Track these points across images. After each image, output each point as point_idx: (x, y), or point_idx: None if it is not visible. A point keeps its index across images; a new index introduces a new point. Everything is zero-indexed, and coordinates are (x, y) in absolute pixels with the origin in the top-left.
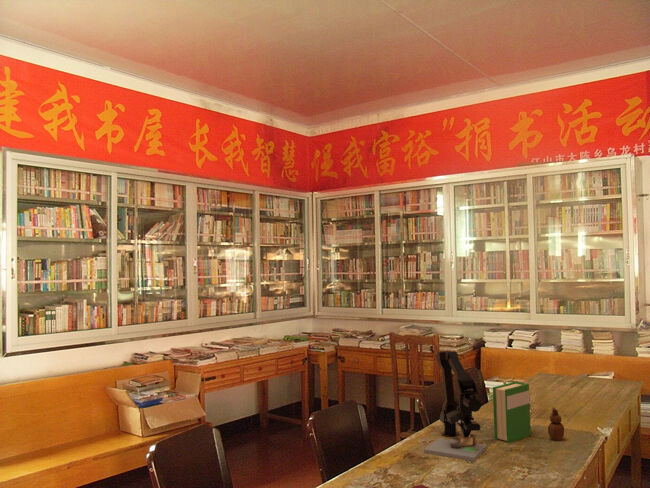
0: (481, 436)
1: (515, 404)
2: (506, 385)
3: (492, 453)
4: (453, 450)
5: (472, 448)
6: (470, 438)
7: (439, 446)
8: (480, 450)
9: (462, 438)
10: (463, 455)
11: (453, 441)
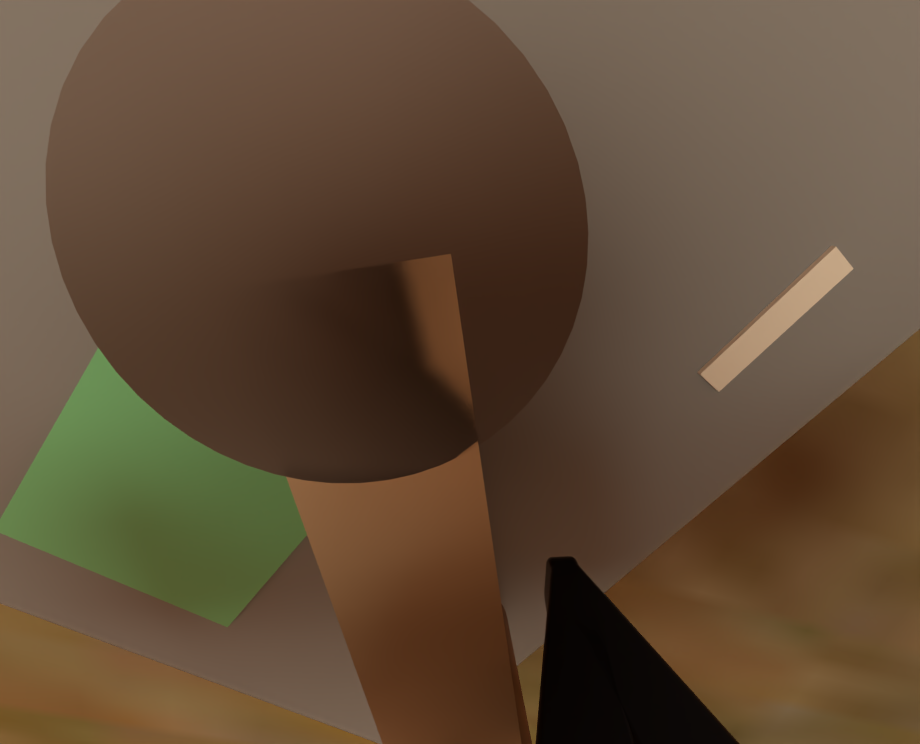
0: (860, 734)
1: None
2: None
3: (198, 709)
4: (56, 38)
5: (231, 552)
6: (385, 732)
7: None
8: (125, 638)
9: (384, 561)
10: None
11: (116, 76)
